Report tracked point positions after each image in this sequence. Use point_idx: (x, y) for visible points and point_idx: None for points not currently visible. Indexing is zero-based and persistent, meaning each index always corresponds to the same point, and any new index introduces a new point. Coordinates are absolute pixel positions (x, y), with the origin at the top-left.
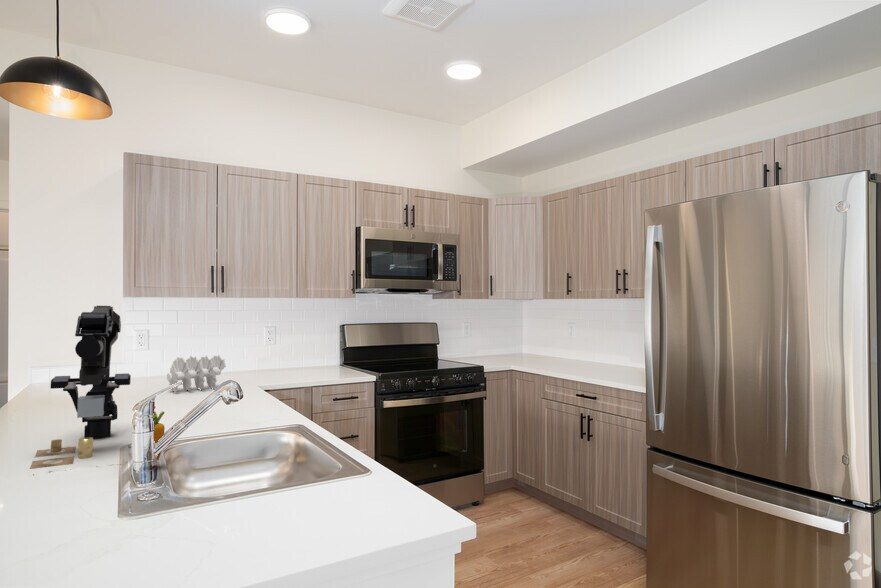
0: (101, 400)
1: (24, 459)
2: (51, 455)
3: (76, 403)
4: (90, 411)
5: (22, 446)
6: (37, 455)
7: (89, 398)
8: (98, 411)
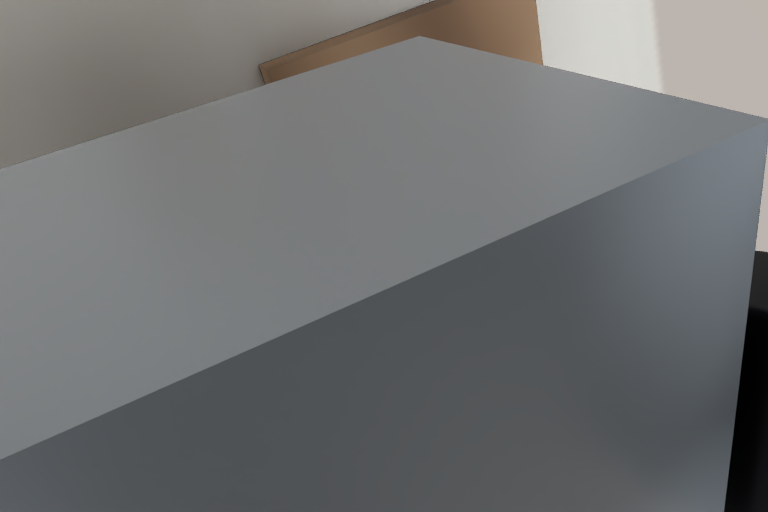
0: None
1: (578, 46)
2: (431, 11)
3: None
4: (225, 133)
5: None
6: (525, 34)
7: (457, 365)
8: (30, 201)
